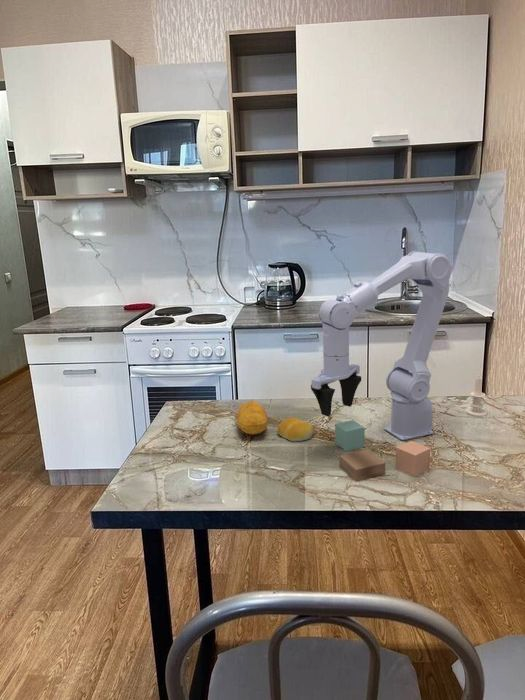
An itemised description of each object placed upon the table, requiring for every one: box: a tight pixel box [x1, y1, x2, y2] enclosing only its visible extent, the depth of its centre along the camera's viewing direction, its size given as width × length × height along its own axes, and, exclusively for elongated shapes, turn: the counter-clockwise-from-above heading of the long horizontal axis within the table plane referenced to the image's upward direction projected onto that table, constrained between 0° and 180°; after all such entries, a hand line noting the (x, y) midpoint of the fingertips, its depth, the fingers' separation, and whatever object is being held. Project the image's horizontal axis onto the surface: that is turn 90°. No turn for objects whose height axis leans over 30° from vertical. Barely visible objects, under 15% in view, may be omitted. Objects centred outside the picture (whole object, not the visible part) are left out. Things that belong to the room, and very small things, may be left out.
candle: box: [465, 377, 488, 418], centre depth 138 cm, size 5×5×10 cm
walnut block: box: [338, 448, 386, 482], centre depth 112 cm, size 7×7×3 cm
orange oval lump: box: [236, 400, 268, 435], centre depth 133 cm, size 8×14×7 cm, turn 7°
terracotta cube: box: [394, 440, 431, 478], centre depth 111 cm, size 5×5×5 cm
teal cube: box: [334, 419, 365, 452], centre depth 124 cm, size 5×5×5 cm
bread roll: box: [277, 417, 314, 442], centre depth 131 cm, size 8×9×4 cm
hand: (336, 410), depth 121 cm, fingers open, 7 cm apart
